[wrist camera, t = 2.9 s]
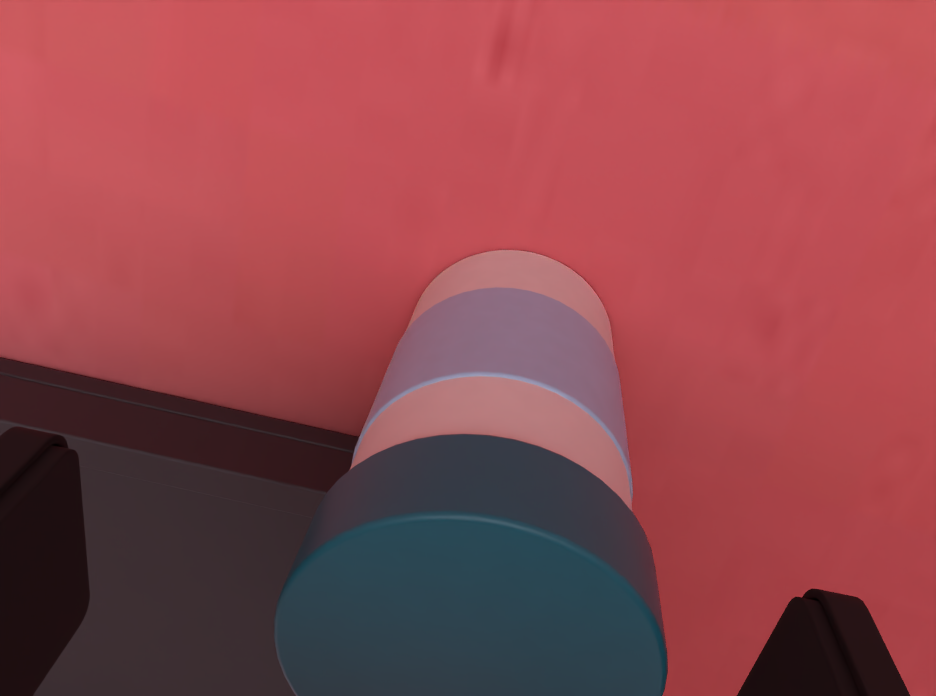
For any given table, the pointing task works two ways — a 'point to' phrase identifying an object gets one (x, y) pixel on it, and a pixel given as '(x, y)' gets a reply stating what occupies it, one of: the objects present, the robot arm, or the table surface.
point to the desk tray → (177, 532)
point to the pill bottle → (483, 510)
